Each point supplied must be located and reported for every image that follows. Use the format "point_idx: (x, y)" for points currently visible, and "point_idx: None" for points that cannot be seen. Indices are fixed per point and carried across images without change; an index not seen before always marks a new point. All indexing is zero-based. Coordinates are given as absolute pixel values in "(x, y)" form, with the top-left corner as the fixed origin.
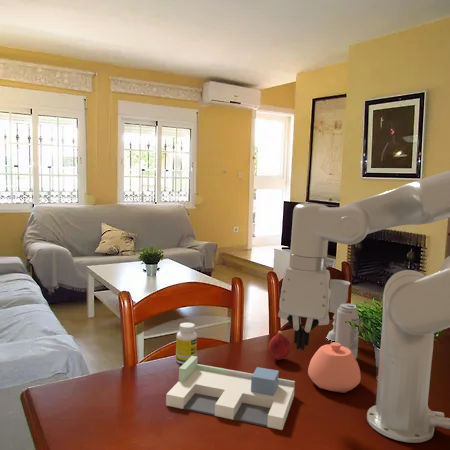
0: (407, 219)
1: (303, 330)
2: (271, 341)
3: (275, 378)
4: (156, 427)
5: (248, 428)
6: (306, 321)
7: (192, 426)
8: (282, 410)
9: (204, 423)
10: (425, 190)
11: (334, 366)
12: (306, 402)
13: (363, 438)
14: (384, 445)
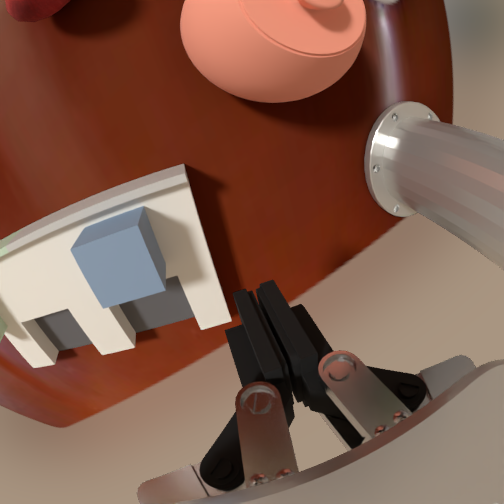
0: None
1: (306, 400)
2: (9, 8)
3: (158, 273)
4: (82, 388)
5: (173, 332)
6: (347, 449)
7: (107, 369)
8: (217, 301)
9: (112, 358)
10: None
11: (313, 81)
12: (226, 174)
13: (359, 235)
14: (385, 233)
